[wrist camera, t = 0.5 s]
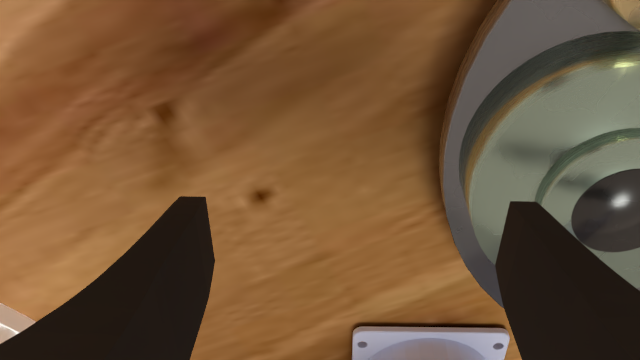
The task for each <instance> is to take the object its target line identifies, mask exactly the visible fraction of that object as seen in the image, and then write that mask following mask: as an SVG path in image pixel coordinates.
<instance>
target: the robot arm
mask: <svg viewBox="0 0 640 360" xmlns="http://www.w3.org/2000/svg"><path fill="white" fill-rule="evenodd" d="M214 263H215V259H214V252H213V245H212V238H211V231H210V225H209V218H208V211H207V204H206V197H179V198H178V199H177V200H176V201H175V202H174V203H173V204H172V205H171V206H170V207H169V208H168V209H167V211H166V212H165V213H164V214H163V215H162V216H161V217H160V218H159V219H158V220H157V221H156V222H155V223H154V224H153V225H152V227H151V228H150V229H149V230H148V231H147V232H146V233H145V234H144V235H143V236H142V237H141V238H140V239H139V240H138V241H137V242H136V243H135V244H134V245H133V246H132V247H131V248H130V249H129V250H128V251H127V252H126V253H125V254H124V255H123V256H121V257H120V258H119V259H118V260H117V261H116V262H115V263H114V264H113V265H112V266H110V267H109V268H108V269H107V270H106V271H105V272H104V273H103V274H102V275H100V276H99V277H98V278H97V279H96V280H95V281H93V282H92V283H91V284H90V285H88V286H87V287H86V288H85V289H83V290H82V291H81V292H79V293H78V294H77V295H75V296H74V297H73V298H71V299H70V300H69V301H67V302H66V303H64V304H63V305H62V306H60V307H59V308H57V309H56V310H54V311H53V312H51V313H49V314H48V315H46V316H45V317H43V318H42V319H40V320H39V321H37V322H36V323H34V324H33V325H31V326H30V327H28V328H26V329H25V330H23V331H22V332H20V333H18V334H16V335H15V336H13V337H11V338H10V339H8V340H6V341H4V342H3V343H1V344H0V360H190V357H191V353H192V350H193V347H194V344H195V341H196V337H197V334H198V331H199V328H200V325H201V321H202V318H203V315H204V311H205V308H206V305H207V301H208V298H209V292H210V287H211V281H212V275H213V269H214ZM495 269H496V274H497V279H498V284H499V289H500V294H501V298H502V303H503V306H504V309H505V312H506V315H507V318H508V321H509V324H510V326H511V329H512V332H513V335H514V338H515V341H516V343H517V346H518V349H519V352H520V355H521V357H522V360H640V291H639V290H638V289H636V288H635V287H634V286H633V285H631V284H630V283H629V282H627V281H626V280H625V279H624V278H622V277H621V276H620V275H619V274H617V273H616V272H615V271H614V270H612V269H611V268H610V267H609V266H608V265H606V264H605V263H604V262H603V261H602V260H600V259H599V258H598V257H597V256H596V255H595V254H593V253H592V252H591V251H590V250H589V249H588V248H587V247H586V246H584V245H583V244H582V243H581V242H580V241H579V240H578V239H577V238H576V237H574V236H573V235H572V234H571V233H570V232H569V231H568V230H567V229H566V228H565V227H564V226H563V225H562V224H560V223H559V222H558V221H557V220H556V219H555V218H554V217H553V216H552V215H551V214H550V213H549V212H548V211H546V210H545V209H544V208H543V207H542V206H541V205H540V204H539V203H537V202H530V201H510V204H509V208H508V212H507V217H506V221H505V225H504V229H503V234H502V238H501V242H500V246H499V251H498V255H497V259H496V264H495ZM509 340H510V337H509V334H508V331H507V330H505V329H503V328H461V327H371V326H362V327H358V328H356V329H355V330H354V331H353V342H352V360H504V358H505V354H506V351H507V347H508V343H509ZM361 341H363V342H361Z"/></svg>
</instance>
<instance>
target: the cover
mask: <svg viewBox="0 0 640 360" xmlns="http://www.w3.org/2000/svg"><path fill="white" fill-rule="evenodd" d="M459 178H460V183H461V187H462V191H463V195H464V198H465V202H466V205H467V208H468V212H469V215H470V219H471V222H472V225H473V229H474V232H475V236H476V238H477V240H478V242H479V245H480V247H481V249H482V250H483V251H484V253H485V254H486V256H487V257H488V259H489V260H490V261H491V262H492V263H493V264H494V265H495V264H496V259H497V255H498V251H499V246H500V242H501V238H502V234H503V229H504V225H505V221H506V217H507V212H508V208H509V204H510V201H530V202H537V203H539V204H540V205H541V206H542V207H543V208H544V209H545V210H546V211H548V212H549V213H550V214H551V215H552V216H553V217H554V218H555V219H556V220H557V221H558V222H559V223H560V224H562V225H563V226H564V227H565V228H566V229H567V230H568V231H569V232H570V233H571V234H572V235H573V236H574V237H576V238H577V239H578V240H579V241H580V242H581V243H582V244H583V245H584V246H586V247H587V248H588V249H589V250H590V251H591V252H592V253H593V254H595V255H596V256H597V257H598V258H599V259H600V260H602V261H603V262H604V263H605V264H606V265H608V266H609V267H610V268H611V269H612V270H614V271H615V272H616V273H617V274H619V275H620V276H621V277H622V278H624V279H625V280H626V281H627V282H629V283H630V284H631V285H633V286H634V287H635V288H639V287H640V32H632V31H618V32H604V33H598V34H593V35H587V36H583V37H580V38H576V39H573V40H570V41H566V42H564V43H561V44H559V45H557V46H554V47H552V48H549V49H547V50H545V51H543V52H542V53H540V54H538V55H536V56H534V57H532V58H531V59H529V60H527V61H526V62H525V63H523V64H522V65H520V66H519V67H517V68H516V69H514V70H513V71H512V72H511V73H510V74H508V75H507V76H506V77H505V78H504V79H503V80H502V81H500V82H499V83H498V84H497V85H496V86H495V88H494V89H493V90H492V91H491V92H490V93H489V94H488V95H487V96H486V98H485V99H484V100H483V102H482V103H481V104H480V106H479V107H478V109H477V110H476V112H475V113H474V115H473V117H472V119H471V121H470V123H469V124H468V127H467V129H466V132H465V135H464V137H463V140H462V145H461V149H460V153H459Z"/></svg>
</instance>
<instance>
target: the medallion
mask: <svg viewBox="0 0 640 360" xmlns="http://www.w3.org/2000/svg"><path fill="white" fill-rule="evenodd" d="M34 323H36V322H35V321H34V320H32V319H31V318H29V317H27V316H25V315H23V314H21V313H19V312H17V311H16V310H14V309H12V308H10V307H8V306H6V305H4V304H2V303H0V344H1V343H3V342H4V341H6V340H8V339H10V338H11V337H13V336H15V335H16V334H18V333H20V332H22V331H23V330H25V329H26V328H28V327H30V326H31V325H33V324H34Z"/></svg>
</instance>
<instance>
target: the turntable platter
mask: <svg viewBox="0 0 640 360" xmlns="http://www.w3.org/2000/svg"><path fill="white" fill-rule="evenodd" d="M618 31H632V32H640V0H497V1H496V3H495V4H494V6H493V7H492V9H491V10H490V12H489V13H488V15H487V16H486V18H485V19H484V21H483V22H482V24H481V25H480V27H479V29H478V31H477V33H476V35H475V37H474V39H473V41H472V43H471V45H470V47H469V49H468V51H467V53H466V55H465V57H464V59H463V61H462V63H461V65H460V67H459V70H458V73H457V76H456V79H455V82H454V84H453V87H452V90H451V93H450V96H449V99H448V101H447V106H446V111H445V116H444V121H443V126H442V131H441V136H440V154H439V174H440V183H441V192H442V199H443V203H444V207H445V211H446V215H447V218H448V222H449V225H450V229H451V232H452V236H453V239H454V243H455V245H456V247H457V249H458V251H459V253H460V255H461V257H462V259H463V261H464V263H465V265H466V267H467V268H468V270H469V271H470V272H471V274H472V275H473V276H474V278H475V279H476V281H477V282H478V283H479V285H480V286H481V287H482V288H483V289H484V290H485V291H486V292H487V293H488V294H489V295H490V296H491V297H492V298H493V299H494V300H495V301H496V302H497V303H498V304H499V305H500V306H501V307H503V308H504V306H503V303H502V298H501V294H500V289H499V284H498V279H497V274H496V269H495V265H494V264H493V263H492V262H491V261H490V260H489V259H488V257H487V256H486V254H485V253H484V251H483V250H482V249H481V247H480V245H479V242H478V240H477V238H476V236H475V232H474V229H473V225H472V222H471V219H470V215H469V212H468V208H467V205H466V202H465V198H464V195H463V191H462V187H461V183H460V178H459V153H460V149H461V145H462V140H463V137H464V135H465V132H466V129H467V127H468V124H469V123H470V121H471V119H472V117H473V115H474V113H475V112H476V110H477V109H478V107H479V106H480V104H481V103H482V102H483V100H484V99H485V98H486V96H487V95H488V94H489V93H490V92H491V91H492V90H493V89H494V88H495V86H496V85H497V84H498V83H499V82H500V81H502V80H503V79H504V78H505V77H506V76H507V75H508V74H510V73H511V72H512V71H513V70H514V69H516V68H517V67H519V66H520V65H522V64H523V63H525V62H526V61H527V60H529V59H531V58H532V57H534V56H536V55H538V54H540V53H542V52H543V51H545V50H547V49H549V48H552V47H554V46H557V45H559V44H561V43H564V42H566V41H570V40H573V39H576V38H580V37H583V36H587V35H593V34H598V33H604V32H618ZM636 289H638V290H639V291H640V287H639V288H636Z"/></svg>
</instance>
